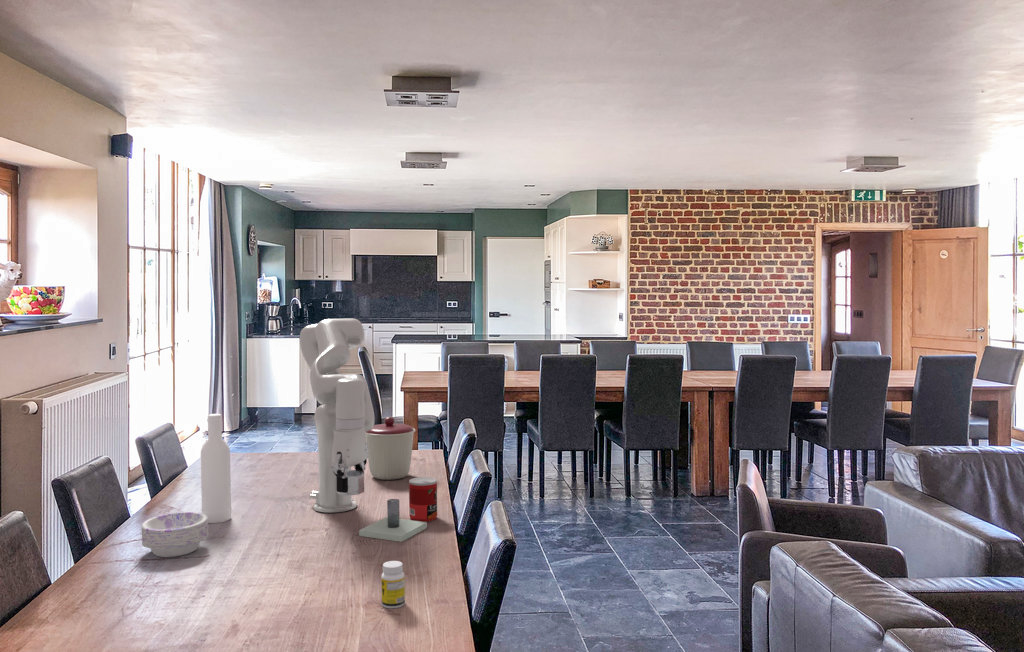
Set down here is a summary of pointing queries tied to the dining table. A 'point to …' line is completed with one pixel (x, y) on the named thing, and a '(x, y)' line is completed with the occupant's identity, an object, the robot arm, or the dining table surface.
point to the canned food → (423, 499)
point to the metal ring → (354, 482)
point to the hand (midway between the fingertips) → (350, 487)
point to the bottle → (215, 473)
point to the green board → (393, 530)
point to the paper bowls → (174, 533)
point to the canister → (389, 449)
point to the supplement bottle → (393, 585)
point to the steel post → (393, 513)
